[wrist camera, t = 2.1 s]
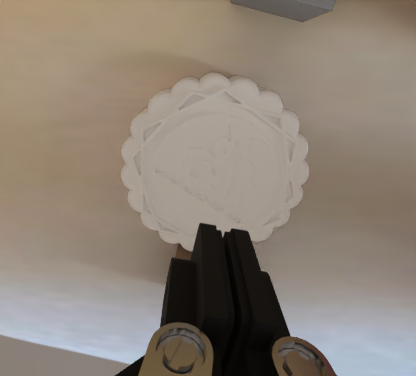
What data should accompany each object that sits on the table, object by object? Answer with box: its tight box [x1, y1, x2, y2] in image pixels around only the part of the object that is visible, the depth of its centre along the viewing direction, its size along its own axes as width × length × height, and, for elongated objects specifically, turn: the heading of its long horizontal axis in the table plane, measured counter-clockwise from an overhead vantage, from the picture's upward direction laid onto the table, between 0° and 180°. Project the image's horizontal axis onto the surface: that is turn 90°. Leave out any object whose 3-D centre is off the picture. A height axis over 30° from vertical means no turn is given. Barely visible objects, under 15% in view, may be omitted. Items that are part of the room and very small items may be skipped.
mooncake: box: [121, 72, 309, 252], centre depth 20 cm, size 12×12×4 cm
